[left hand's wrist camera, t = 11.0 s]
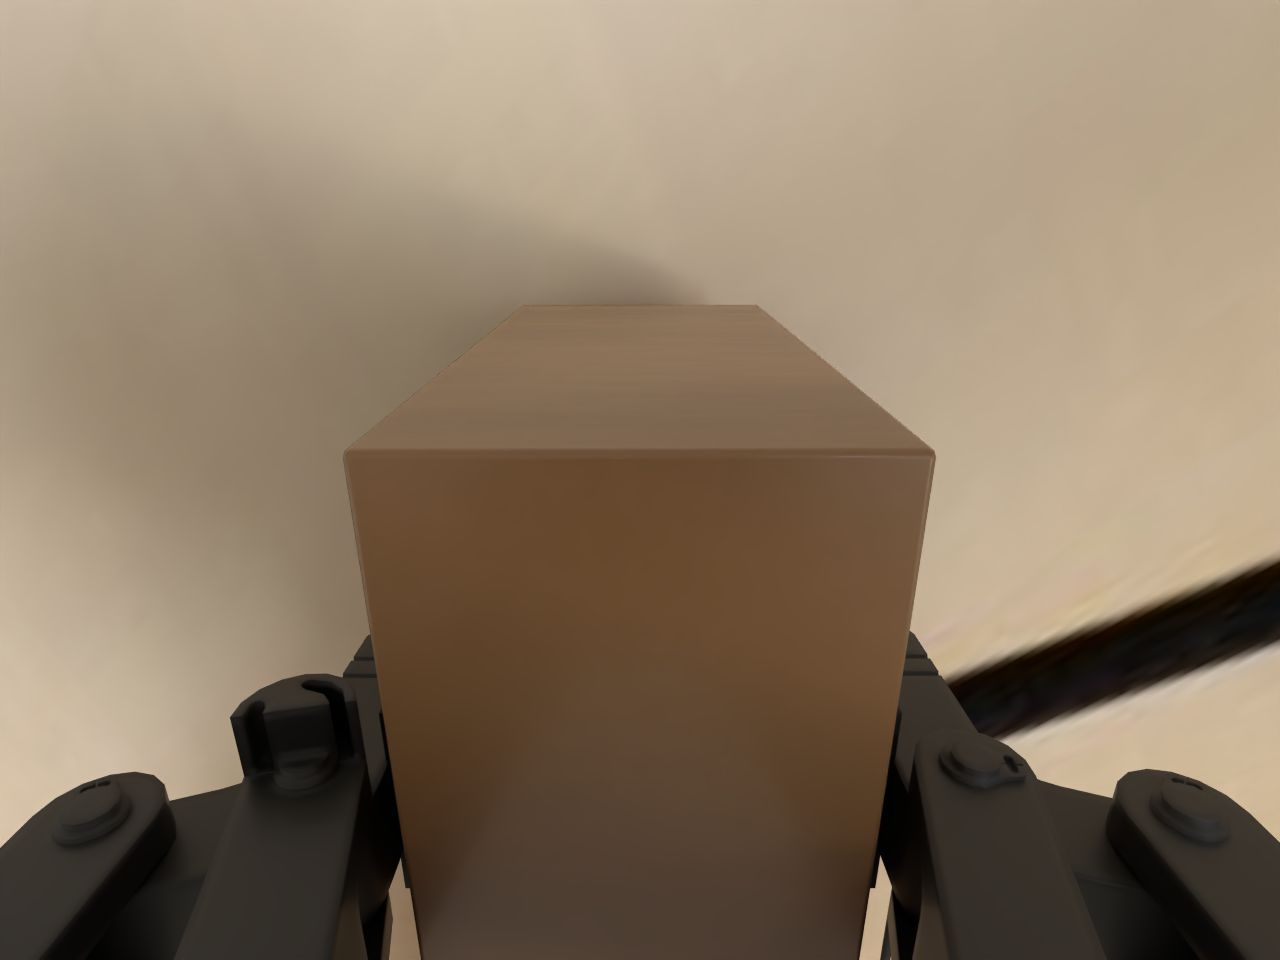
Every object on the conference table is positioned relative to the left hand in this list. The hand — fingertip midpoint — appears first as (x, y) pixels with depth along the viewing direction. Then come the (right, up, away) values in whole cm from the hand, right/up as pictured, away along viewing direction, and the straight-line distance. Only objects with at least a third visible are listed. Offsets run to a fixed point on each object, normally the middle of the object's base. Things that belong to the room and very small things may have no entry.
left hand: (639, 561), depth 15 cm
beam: (0, -27, +11) cm, 29 cm away
